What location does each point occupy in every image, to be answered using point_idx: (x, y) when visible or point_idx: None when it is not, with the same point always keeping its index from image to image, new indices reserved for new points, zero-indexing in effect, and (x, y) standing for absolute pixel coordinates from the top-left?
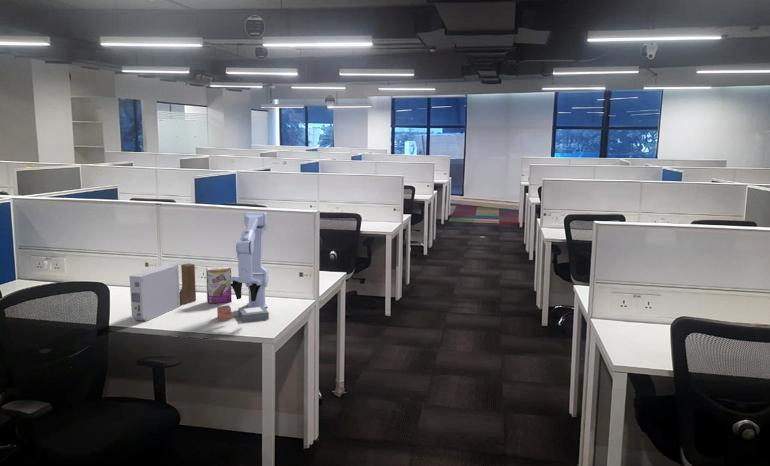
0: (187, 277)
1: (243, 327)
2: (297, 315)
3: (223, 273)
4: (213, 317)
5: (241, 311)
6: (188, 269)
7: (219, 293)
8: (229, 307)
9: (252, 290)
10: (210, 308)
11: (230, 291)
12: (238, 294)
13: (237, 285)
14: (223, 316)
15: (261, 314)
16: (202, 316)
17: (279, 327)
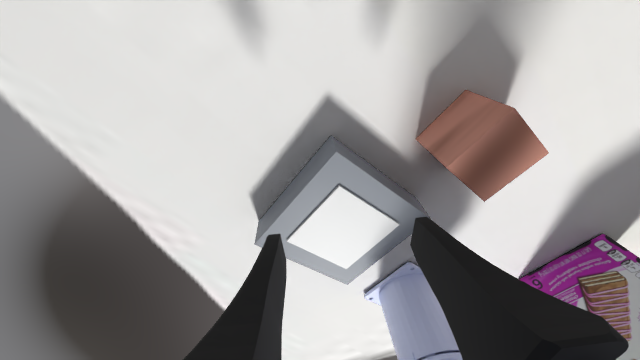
0: None
1: (253, 55)
2: (207, 291)
3: None
4: None
5: (386, 193)
6: None
7: (594, 289)
8: (460, 173)
9: (219, 332)
10: (576, 202)
11: None
12: (434, 255)
13: (501, 349)
14: (457, 114)
15: (274, 216)
16: (585, 97)
17: (99, 160)
